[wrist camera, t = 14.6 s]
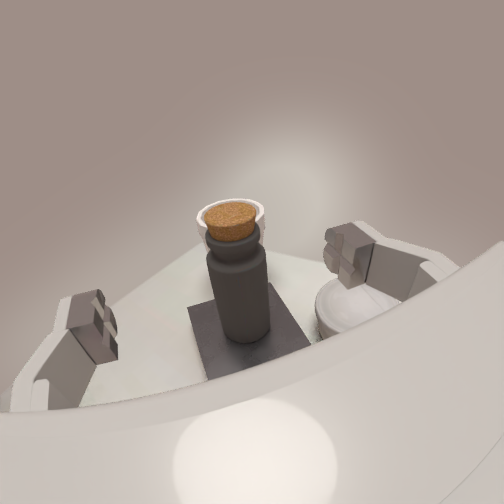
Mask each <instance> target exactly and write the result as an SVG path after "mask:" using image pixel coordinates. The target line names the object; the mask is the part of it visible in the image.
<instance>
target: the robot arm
mask: <svg viewBox="0 0 504 504" xmlns="http://www.w3.org/2000/svg"><path fill="white" fill-rule="evenodd" d="M325 240H326V242H327V245H326V246H325V248H324V252H323V258H324V262H325V264H326V266H327V268H328V269H329V270H330V271H331V272H332V273H335V274H338V280H339V281H340V282H341V283H342V284H343V285H344V286H345V287H346V289H347V290H349V289H351V288H354V287H357V286H360V285H362V284H365V283H366V285H368V286H370V287H372V288H374V289H376V290H378V291H381V292H383V293H385V294H387V295H389V296H391V297H393V298H395V299H397V300H399V301H401V302H402V303H400V304H398V305H396V306H394V307H393V308H391V309H389V310H387V311H385V312H383V313H381V314H379V315H377V316H375V317H373V318H371V319H369V320H367V321H365V322H362V323H360V324H358V325H356V326H354V327H352V328H350V329H348V330H345V331H343V332H341V333H339V334H336V335H334V336H332V337H330V338H327V339H325V340H323V341H320V342H318V343H315V344H313V345H310V346H308V347H306V348H303V349H300V350H298V351H295V352H293V353H290V354H288V355H285V356H282V357H280V358H277V359H274V360H271V361H269V362H266V363H263V364H260V365H257V366H254V367H251V368H248V369H245V370H242V371H239V372H236V373H233V374H229V375H226V376H223V377H219V378H216V379H213V380H209V381H206V382H202V383H198V384H195V385H191V386H187V387H183V388H179V389H175V390H171V391H167V392H163V393H158V394H154V395H149V396H144V397H139V398H134V399H129V400H124V401H118V402H112V403H106V404H100V405H93V406H85V407H79V404H80V402H81V400H82V397H83V395H84V393H85V391H86V388H87V386H88V384H89V382H90V380H91V378H92V375H93V373H94V371H95V369H96V367H97V366H96V365H99V364H103V363H108V362H112V361H116V360H118V344H117V343H116V341H115V340H114V339H115V337H116V336H117V325H116V320H115V317H114V315H113V312H112V310H111V308H109V307H107V306H106V305H105V297H104V295H103V293H102V292H101V290H99V289H97V290H93V291H89V292H85V293H81V294H77V295H74V296H69V297H65V298H62V299H61V300H60V301H59V305H58V310H57V314H56V318H55V323H54V327H53V332H52V333H50V334H48V336H47V337H46V338H45V339H44V341H43V342H42V343H41V345H40V346H39V347H38V348H37V350H36V351H35V352H34V354H33V355H32V357H31V358H30V359H29V361H28V362H27V363H26V365H25V366H24V368H23V369H22V370H21V372H20V373H19V375H18V376H17V377H16V379H15V380H14V382H13V389H12V395H11V403H10V412H0V504H504V241H500V242H498V243H496V244H495V245H493V246H492V247H491V248H489V249H488V250H487V251H485V252H484V253H483V254H481V255H479V256H478V257H477V258H475V259H474V260H472V261H471V262H469V263H468V264H466V265H465V266H463V267H461V268H459V267H458V266H457V265H456V264H455V263H453V262H452V261H451V260H450V259H448V258H447V257H445V256H444V255H443V254H442V253H440V252H436V251H433V250H430V249H427V248H423V247H420V246H417V245H413V244H410V243H406V242H402V241H399V240H396V239H392V238H388V239H387V238H385V237H384V236H383V235H382V234H380V233H379V232H378V231H376V230H375V229H374V228H372V227H371V226H369V225H368V224H366V223H365V222H364V221H362V220H356V221H353V222H350V223H347V224H344V225H340V226H337V227H333V228H329V229H327V230H326V233H325Z"/></svg>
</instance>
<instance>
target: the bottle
mask: <svg viewBox="0 0 504 504" xmlns="http://www.w3.org/2000/svg"><path fill="white" fill-rule="evenodd" d="M255 219H256V209H255V208H254V207H253V206H252V205H250V204H247V203H242V202H230V203H224V204H220V205H217V206H215V207H213V208H211V209H209V210H208V211H207V212H206V213H205V215H204V221H205V223H206V225H207V228H208V229H207V231H206V233H205V239H206V244H207V246H208V247H209V248H210V250H209V252H208V254H207V257H206V260H207V266H208V271H209V276H210V280H211V284H212V289H213V293H214V297H215V301H216V305H217V309H218V313H219V317H220V321H221V325H222V328H223V331H224V333H225V335H226V336H227V337H228V338H229V339H231V340H232V341H235V342H239V343H251V342H254V341H257V340H259V339H261V338H262V337H263V336H264V335H265V334H266V333H267V332H268V330H269V327H270V308H269V293H268V278H267V264H266V253H265V249H264V247H263V246H262V245H261V244H260V243H259V240H260V228H259V226H258V224H257V223H256V222H255Z"/></svg>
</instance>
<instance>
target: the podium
mask: <svg viewBox="0 0 504 504" xmlns="http://www.w3.org/2000/svg"><path fill="white" fill-rule="evenodd" d="M268 293H269V308H270V327H269V330H268V332H267V333H266V334H265V335H264V336H263V337H262V338H261V339H259V340H257V341H254V342H251V343H239V342H235V341H232V340H231V339H229V338H228V337H227V336H226V335H225V333H224V331H223V328H222V325H221V321H220V317H219V313H218V309H217V305H216V301H215V299H214V300H211V301H207V302H204V303H200V304H197V305H194V306H190V307H187V309H188V312H189V316H190V320H191V323H192V327H193V331H194V334H195V338H196V341H197V345H198V348H199V352H200V355H201V358H202V362H203V365H204V368H205V371H206V374H207V378H208V381H209V380H213V379H216V378H219V377H223V376H226V375H229V374H233V373H236V372H239V371H242V370H245V369H248V368H251V367H254V366H257V365H260V364H263V363H266V362H269V361H271V360H274V359H277V358H280V357H282V356H285V355H288V354H290V353H293V352H295V351H298V350H300V349H303V348H306V347H308V346H310V345H311V343H310V342H309V340H308V339H307V337H306V336H305V334H304V333H303V331H302V330H301V328H300V327H299V325H298V324H297V322H296V321H295V319H294V318H293V316H292V315H291V313H290V312H289V310H288V309H287V307H286V306H285V304H284V302H283V301H282V299H281V298H280V296H279V295H278V293H277V292H276V290H275V289H274V287H273V286H272V284H271V283H268Z"/></svg>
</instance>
